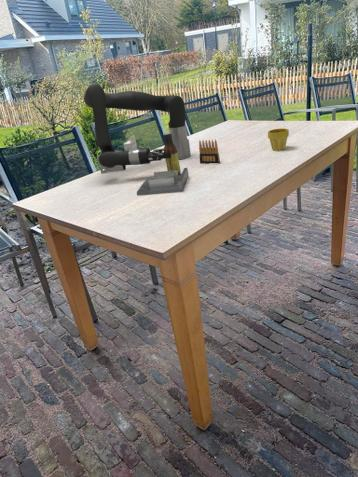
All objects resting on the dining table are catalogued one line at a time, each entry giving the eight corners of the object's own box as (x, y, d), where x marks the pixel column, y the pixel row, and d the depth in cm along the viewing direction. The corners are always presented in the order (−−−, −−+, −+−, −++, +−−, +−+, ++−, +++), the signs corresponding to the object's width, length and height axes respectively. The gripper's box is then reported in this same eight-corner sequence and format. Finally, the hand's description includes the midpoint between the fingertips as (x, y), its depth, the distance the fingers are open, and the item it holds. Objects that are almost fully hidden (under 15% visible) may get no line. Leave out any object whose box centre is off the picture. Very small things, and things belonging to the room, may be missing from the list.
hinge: (100, 174, 201) (96, 155, 197) (102, 171, 206) (98, 153, 202) (125, 170, 201) (121, 151, 196) (126, 167, 206) (122, 149, 201)
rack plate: (188, 176, 172) (187, 166, 170) (182, 191, 154) (181, 179, 152) (147, 180, 176) (145, 170, 173) (137, 195, 158) (135, 184, 156)
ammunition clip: (220, 162, 187) (217, 138, 182) (218, 163, 185) (216, 139, 180) (201, 162, 192) (199, 139, 187) (200, 163, 191) (197, 140, 186)
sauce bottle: (182, 172, 180) (176, 131, 172) (178, 176, 175) (172, 134, 166) (170, 173, 182) (164, 132, 174) (165, 176, 177) (159, 135, 169)
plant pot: (281, 152, 187) (280, 133, 183) (264, 151, 195) (263, 132, 191) (292, 147, 193) (292, 128, 189) (276, 146, 201) (275, 128, 196)
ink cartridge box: (131, 160, 220) (126, 135, 214) (139, 159, 219) (134, 134, 213) (127, 164, 213) (121, 138, 207) (135, 163, 212) (130, 137, 205)
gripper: (134, 152, 169) (168, 148, 166) (142, 145, 182) (173, 141, 179) (137, 168, 173) (171, 164, 169) (144, 160, 185) (176, 157, 182)
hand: (172, 153), depth 174 cm, fingers open, 8 cm apart
